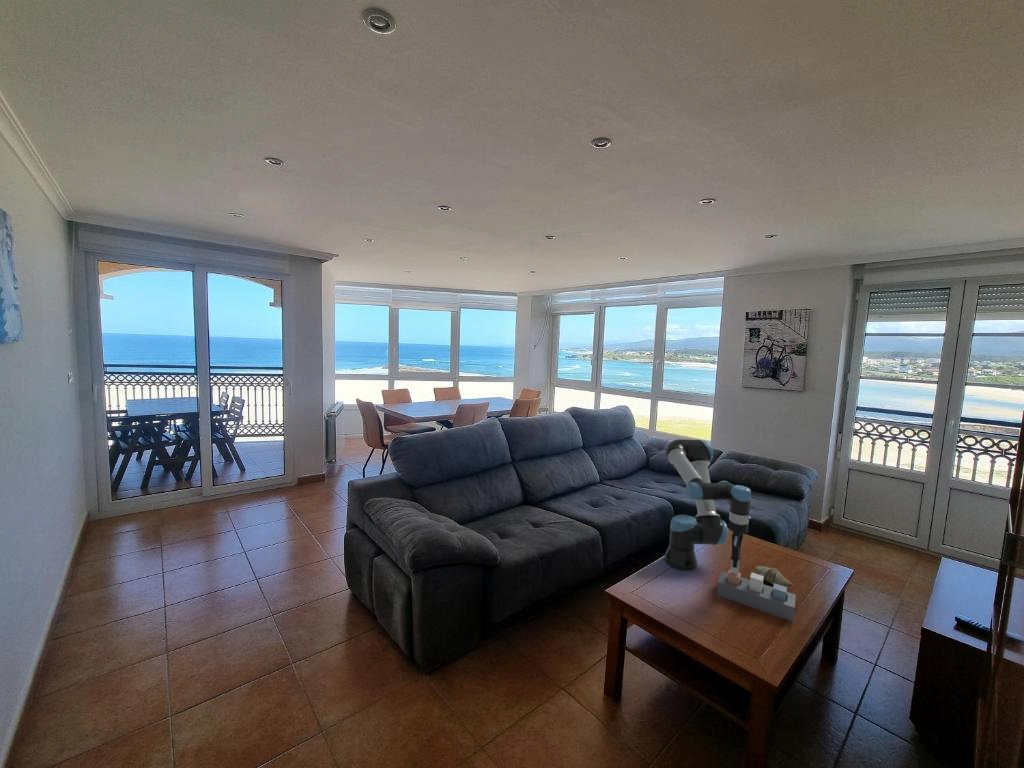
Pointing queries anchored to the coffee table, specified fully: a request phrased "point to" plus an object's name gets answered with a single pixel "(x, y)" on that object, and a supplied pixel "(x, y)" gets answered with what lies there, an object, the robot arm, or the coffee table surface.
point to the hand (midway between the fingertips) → (734, 573)
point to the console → (757, 597)
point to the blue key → (779, 592)
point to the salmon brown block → (734, 578)
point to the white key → (756, 582)
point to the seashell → (772, 576)
